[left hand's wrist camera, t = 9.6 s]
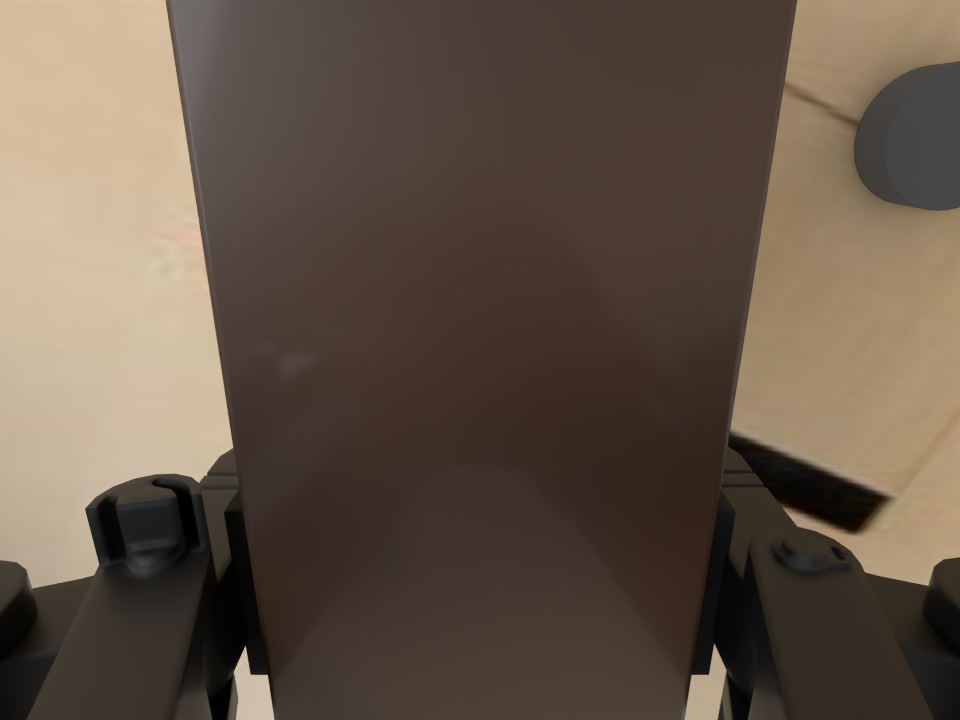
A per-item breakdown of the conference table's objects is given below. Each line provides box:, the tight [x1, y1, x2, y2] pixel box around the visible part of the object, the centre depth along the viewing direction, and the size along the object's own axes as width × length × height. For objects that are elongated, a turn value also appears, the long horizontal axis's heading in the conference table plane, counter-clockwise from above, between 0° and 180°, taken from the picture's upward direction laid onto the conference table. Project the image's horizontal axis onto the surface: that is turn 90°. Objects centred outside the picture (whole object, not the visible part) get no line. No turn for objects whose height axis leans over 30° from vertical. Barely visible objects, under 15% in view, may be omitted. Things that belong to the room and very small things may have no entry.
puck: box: [855, 62, 960, 210], centre depth 23 cm, size 5×5×2 cm
